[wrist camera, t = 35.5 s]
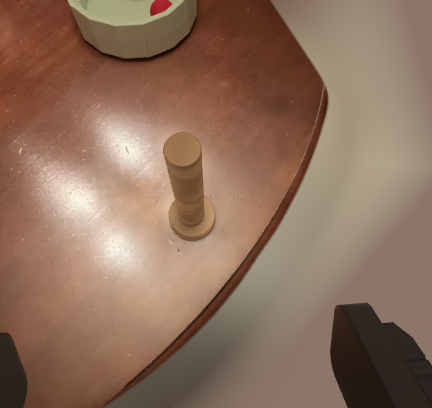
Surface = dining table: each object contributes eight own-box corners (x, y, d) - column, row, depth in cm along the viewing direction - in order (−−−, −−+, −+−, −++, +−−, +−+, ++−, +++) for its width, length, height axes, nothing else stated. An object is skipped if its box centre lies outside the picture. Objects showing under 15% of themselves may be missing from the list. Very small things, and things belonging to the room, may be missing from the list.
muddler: (211, 195, 40) (212, 114, 25) (217, 237, 38) (222, 176, 24) (168, 200, 39) (144, 122, 25) (172, 243, 38) (149, 185, 24)
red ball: (180, -1, 44) (156, -12, 44) (173, 17, 43) (149, 5, 43) (174, 17, 47) (151, 7, 46) (167, 34, 46) (144, 24, 45)
